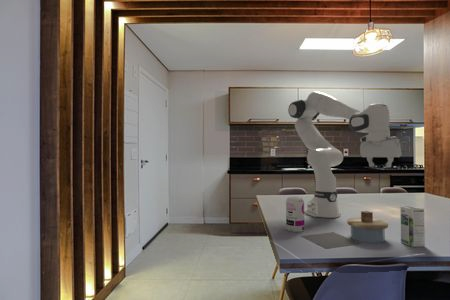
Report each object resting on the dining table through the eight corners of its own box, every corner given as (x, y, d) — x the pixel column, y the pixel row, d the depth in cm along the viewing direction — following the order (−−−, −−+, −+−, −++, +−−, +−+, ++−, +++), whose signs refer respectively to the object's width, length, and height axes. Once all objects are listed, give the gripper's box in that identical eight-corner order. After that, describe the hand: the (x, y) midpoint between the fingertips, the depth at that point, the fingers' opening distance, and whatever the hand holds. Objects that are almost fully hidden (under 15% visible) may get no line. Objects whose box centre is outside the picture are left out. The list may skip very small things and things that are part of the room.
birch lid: (339, 221, 118) (339, 209, 118) (367, 219, 122) (366, 207, 122) (366, 230, 103) (366, 217, 104) (397, 227, 108) (396, 214, 108)
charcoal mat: (300, 237, 116) (300, 235, 116) (333, 233, 121) (333, 232, 121) (325, 250, 100) (325, 248, 100) (363, 245, 105) (363, 243, 105)
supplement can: (304, 229, 129) (304, 197, 129) (304, 233, 121) (303, 200, 122) (287, 227, 132) (287, 196, 132) (285, 232, 124) (285, 199, 124)
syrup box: (400, 242, 108) (399, 205, 108) (414, 241, 108) (413, 205, 109) (411, 247, 102) (410, 208, 103) (425, 246, 103) (424, 208, 103)
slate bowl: (344, 236, 117) (344, 222, 117) (367, 233, 120) (367, 220, 120) (367, 245, 105) (366, 229, 105) (391, 241, 109) (391, 226, 109)
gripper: (404, 136, 119) (405, 167, 119) (367, 139, 139) (368, 166, 139) (393, 135, 118) (394, 167, 117) (357, 139, 137) (358, 166, 137)
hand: (379, 167), depth 128 cm, fingers open, 8 cm apart
